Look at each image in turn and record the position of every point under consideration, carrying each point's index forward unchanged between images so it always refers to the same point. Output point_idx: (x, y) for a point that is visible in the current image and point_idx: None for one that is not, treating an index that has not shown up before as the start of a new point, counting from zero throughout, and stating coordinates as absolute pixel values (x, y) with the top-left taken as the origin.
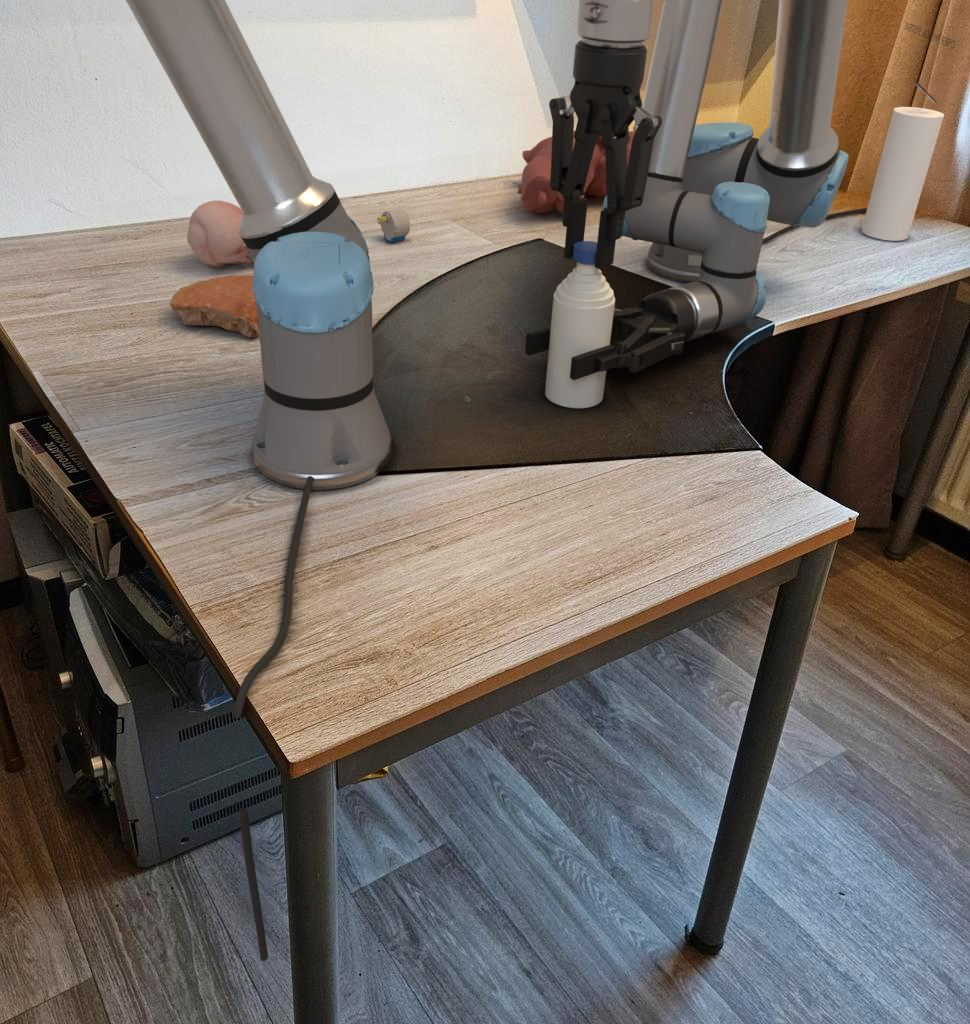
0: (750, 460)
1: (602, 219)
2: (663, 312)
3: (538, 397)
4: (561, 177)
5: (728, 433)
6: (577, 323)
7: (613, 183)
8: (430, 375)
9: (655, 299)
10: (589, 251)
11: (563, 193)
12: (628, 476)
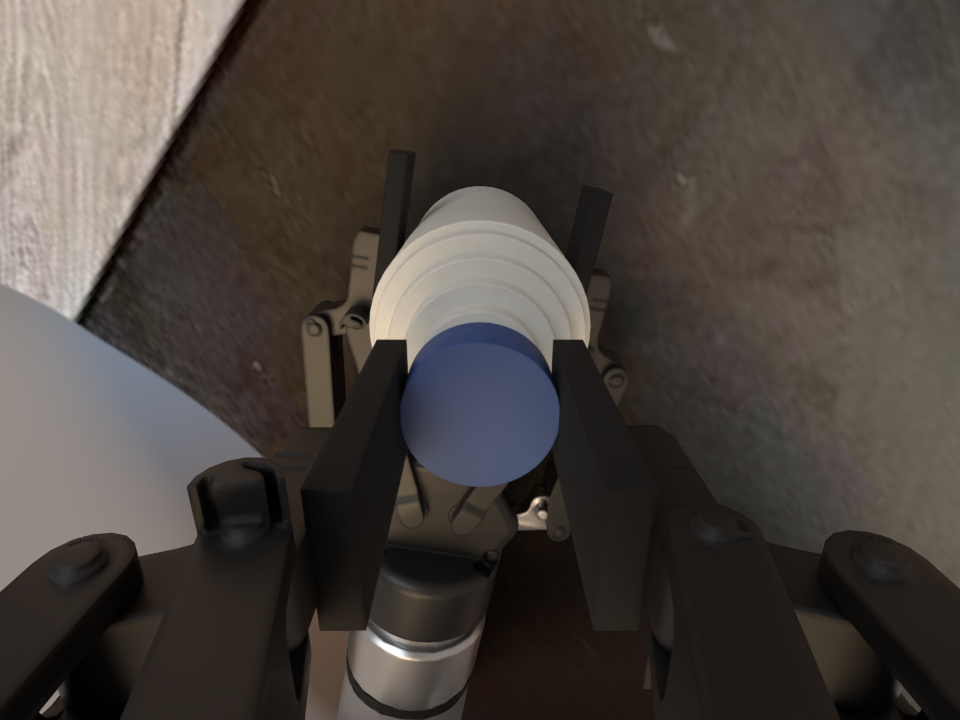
0: (48, 281)
1: (341, 458)
2: (411, 557)
3: (532, 183)
4: (903, 709)
5: (152, 346)
6: (433, 223)
7: (156, 713)
8: (816, 72)
9: (441, 579)
10: (433, 358)
11: (748, 531)
12: (143, 13)
